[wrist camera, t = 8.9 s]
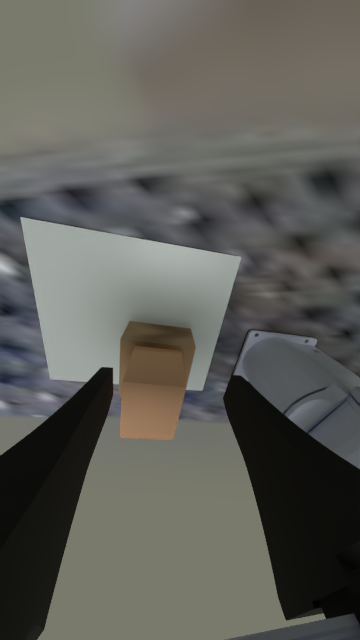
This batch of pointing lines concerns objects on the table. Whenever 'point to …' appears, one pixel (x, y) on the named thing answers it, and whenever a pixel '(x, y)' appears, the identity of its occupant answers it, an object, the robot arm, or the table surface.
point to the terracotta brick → (152, 393)
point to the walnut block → (155, 344)
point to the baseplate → (121, 295)
